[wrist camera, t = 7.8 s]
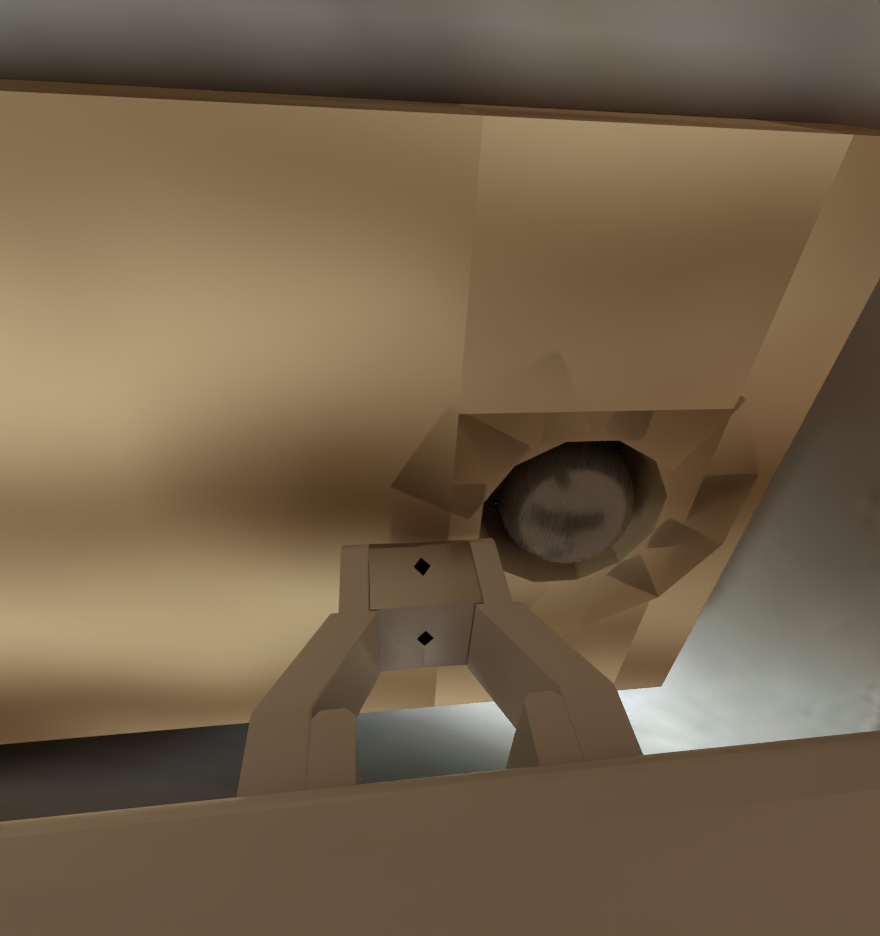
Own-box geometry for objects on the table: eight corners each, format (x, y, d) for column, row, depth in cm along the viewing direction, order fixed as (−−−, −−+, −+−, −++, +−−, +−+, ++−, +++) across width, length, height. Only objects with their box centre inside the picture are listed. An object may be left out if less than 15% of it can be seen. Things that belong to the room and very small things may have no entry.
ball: (498, 484, 15) (610, 515, 15) (473, 567, 13) (605, 608, 13) (523, 389, 13) (654, 423, 13) (499, 469, 11) (658, 513, 10)
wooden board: (630, 621, 19) (661, 686, 17) (-18, 667, 17) (-68, 750, 15) (838, 124, 10) (953, 140, 8) (-511, 51, 8) (-818, 49, 6)
